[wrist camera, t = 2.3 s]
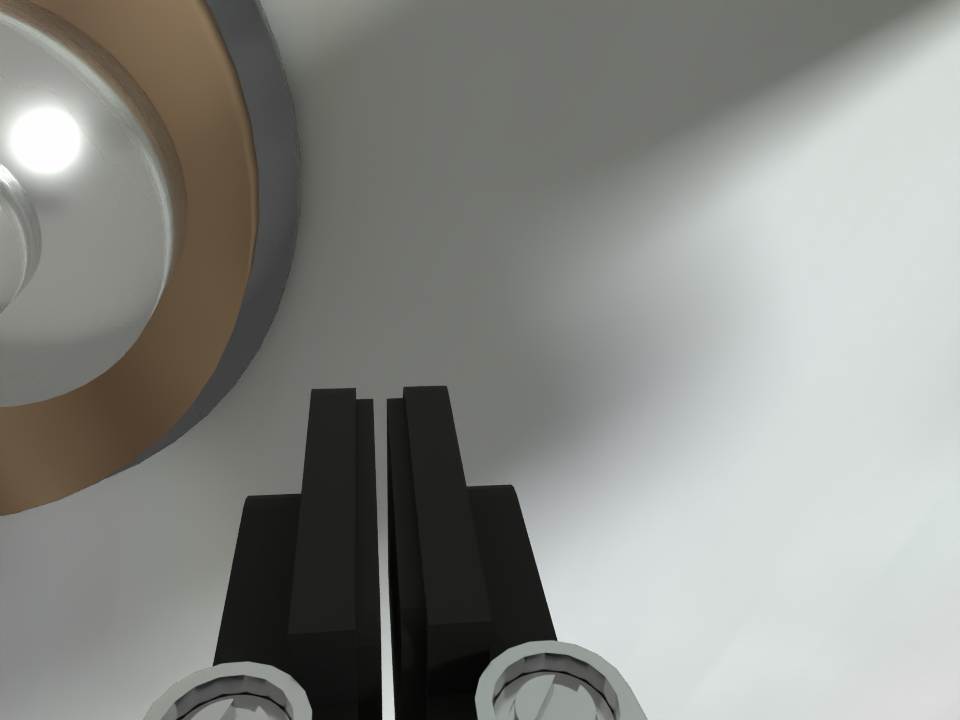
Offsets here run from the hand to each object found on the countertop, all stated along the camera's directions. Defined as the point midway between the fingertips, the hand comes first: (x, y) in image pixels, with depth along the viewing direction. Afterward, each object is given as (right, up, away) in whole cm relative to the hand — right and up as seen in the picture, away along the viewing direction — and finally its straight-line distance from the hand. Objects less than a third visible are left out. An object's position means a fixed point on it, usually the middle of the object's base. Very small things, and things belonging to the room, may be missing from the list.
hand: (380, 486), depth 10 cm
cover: (-10, +6, +9) cm, 15 cm away
